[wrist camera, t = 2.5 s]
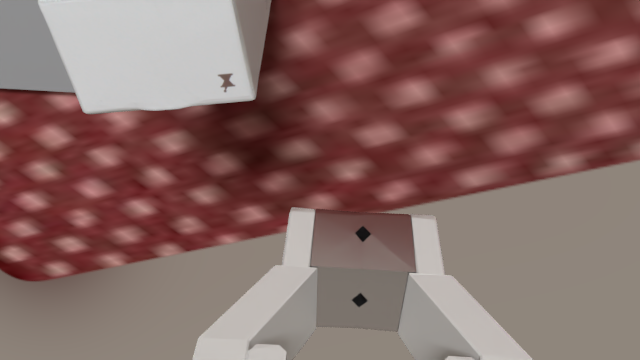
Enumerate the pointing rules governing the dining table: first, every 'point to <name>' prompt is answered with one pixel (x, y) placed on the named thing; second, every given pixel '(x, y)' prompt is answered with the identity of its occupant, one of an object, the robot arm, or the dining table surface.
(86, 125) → the dining table surface
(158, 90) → the skincare box
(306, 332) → the robot arm
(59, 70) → the mat
